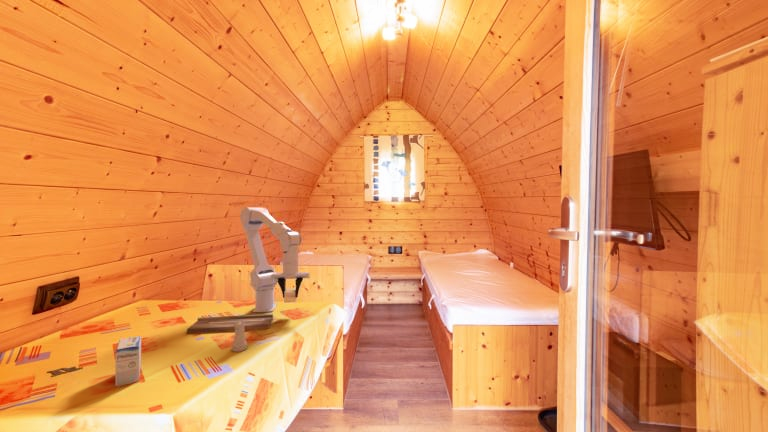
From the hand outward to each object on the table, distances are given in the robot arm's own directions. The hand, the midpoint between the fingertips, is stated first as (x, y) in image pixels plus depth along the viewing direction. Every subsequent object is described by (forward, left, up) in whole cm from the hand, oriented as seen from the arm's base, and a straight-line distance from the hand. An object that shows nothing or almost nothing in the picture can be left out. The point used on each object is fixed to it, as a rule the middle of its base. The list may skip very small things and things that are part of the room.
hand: (290, 297), depth 124 cm
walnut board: (+8, -19, -8) cm, 22 cm away
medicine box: (+42, -33, -8) cm, 54 cm away
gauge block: (0, 0, -1) cm, 1 cm away
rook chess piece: (+29, -11, -8) cm, 32 cm away
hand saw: (+31, -44, -8) cm, 55 cm away
